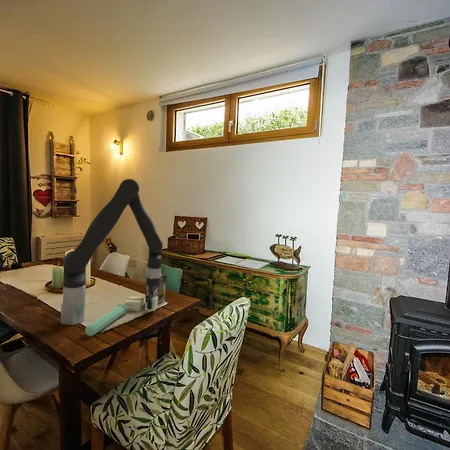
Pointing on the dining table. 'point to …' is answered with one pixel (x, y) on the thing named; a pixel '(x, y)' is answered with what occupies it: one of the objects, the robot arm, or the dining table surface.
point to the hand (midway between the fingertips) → (151, 306)
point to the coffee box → (161, 289)
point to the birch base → (134, 303)
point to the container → (105, 320)
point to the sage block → (153, 304)
